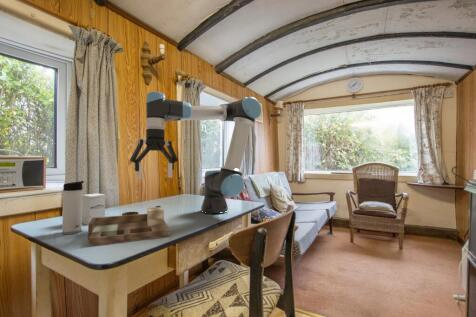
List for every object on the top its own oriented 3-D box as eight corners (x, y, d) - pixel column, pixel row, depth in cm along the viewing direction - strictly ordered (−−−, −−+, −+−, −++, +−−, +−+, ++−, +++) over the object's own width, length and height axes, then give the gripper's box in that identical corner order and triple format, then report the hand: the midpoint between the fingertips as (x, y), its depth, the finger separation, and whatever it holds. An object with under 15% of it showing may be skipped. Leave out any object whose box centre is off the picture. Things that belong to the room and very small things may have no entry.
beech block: (161, 220, 102) (162, 207, 102) (163, 224, 97) (163, 209, 97) (147, 222, 100) (147, 207, 100) (148, 225, 94) (148, 210, 94)
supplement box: (88, 225, 102) (88, 196, 102) (79, 222, 106) (80, 194, 106) (105, 221, 109) (105, 194, 109) (96, 219, 113) (97, 192, 113)
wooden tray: (163, 224, 105) (163, 212, 105) (169, 236, 89) (169, 222, 89) (92, 231, 94) (92, 217, 94) (84, 246, 78) (84, 229, 78)
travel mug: (82, 233, 92) (83, 181, 92) (61, 235, 88) (62, 182, 88) (83, 229, 97) (84, 180, 97) (63, 231, 94) (64, 180, 94)
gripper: (177, 131, 113) (177, 176, 113) (121, 127, 96) (121, 179, 96) (185, 130, 107) (185, 177, 107) (127, 125, 90) (127, 180, 90)
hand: (155, 178), depth 101 cm, fingers open, 13 cm apart
